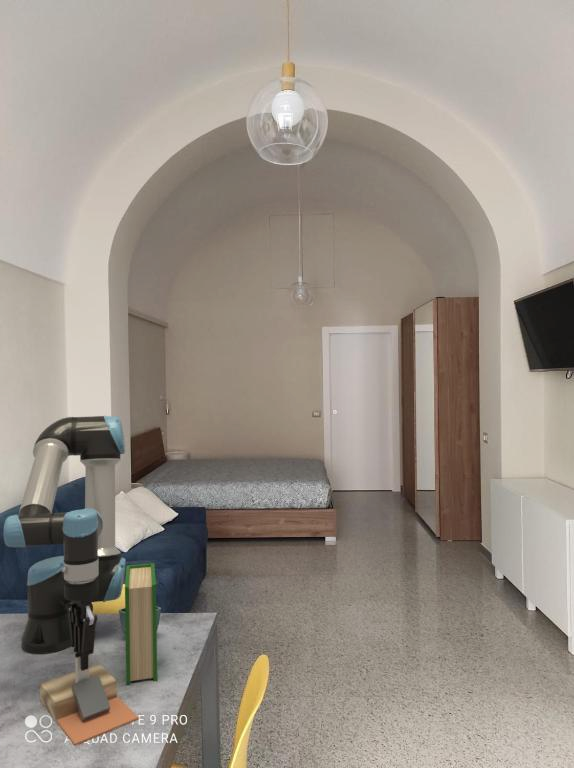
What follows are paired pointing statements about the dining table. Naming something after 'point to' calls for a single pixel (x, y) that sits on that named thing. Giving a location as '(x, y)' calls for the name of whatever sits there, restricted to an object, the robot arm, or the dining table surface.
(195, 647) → the dining table surface
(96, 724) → the mat
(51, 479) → the robot arm
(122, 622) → the flower pot
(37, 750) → the dining table surface
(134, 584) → the hardback book
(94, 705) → the gray flat block
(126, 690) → the dining table surface
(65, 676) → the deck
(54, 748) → the dining table surface
